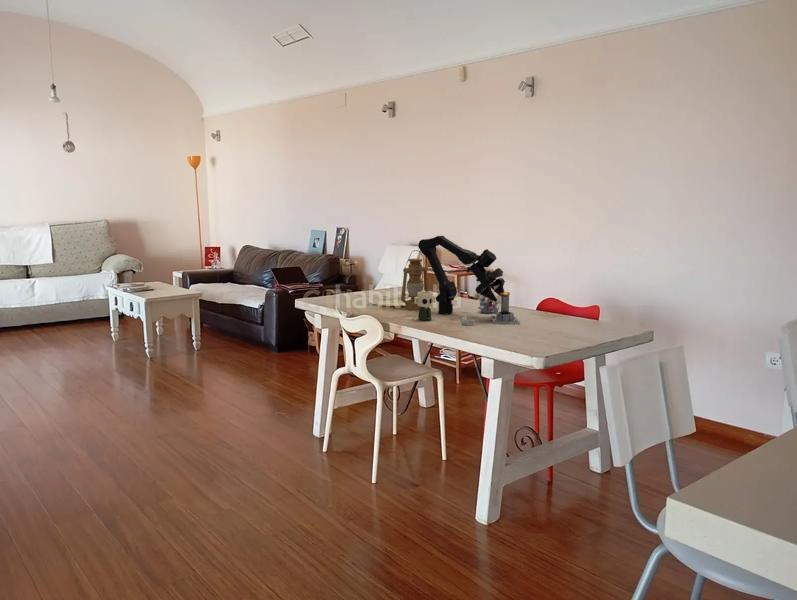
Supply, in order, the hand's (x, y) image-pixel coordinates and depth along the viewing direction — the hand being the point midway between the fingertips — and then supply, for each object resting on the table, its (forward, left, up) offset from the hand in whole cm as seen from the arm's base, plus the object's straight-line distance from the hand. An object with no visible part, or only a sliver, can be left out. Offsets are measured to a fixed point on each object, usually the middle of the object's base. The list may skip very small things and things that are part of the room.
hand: (501, 299), depth 297 cm
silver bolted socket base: (+2, -1, -10) cm, 10 cm away
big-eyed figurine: (-35, +1, -10) cm, 37 cm away
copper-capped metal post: (+2, -1, -9) cm, 9 cm away
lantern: (-40, +31, -10) cm, 52 cm away
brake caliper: (-3, +23, -10) cm, 25 cm away
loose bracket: (-16, -7, -10) cm, 20 cm away
